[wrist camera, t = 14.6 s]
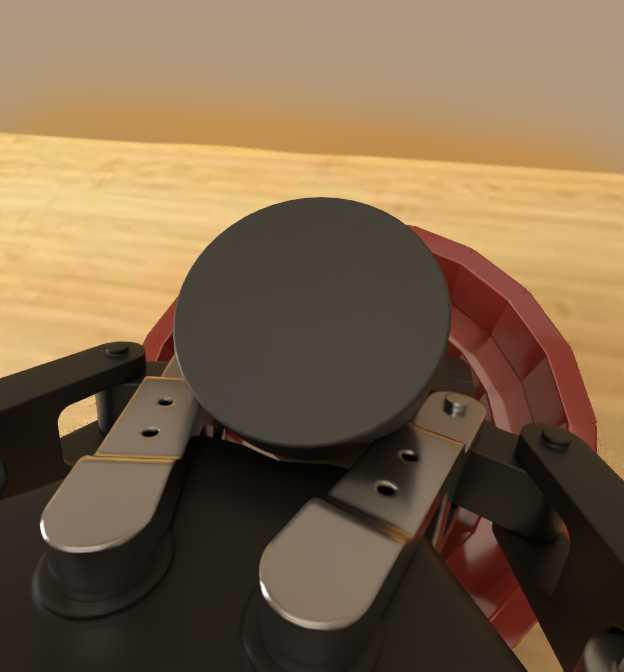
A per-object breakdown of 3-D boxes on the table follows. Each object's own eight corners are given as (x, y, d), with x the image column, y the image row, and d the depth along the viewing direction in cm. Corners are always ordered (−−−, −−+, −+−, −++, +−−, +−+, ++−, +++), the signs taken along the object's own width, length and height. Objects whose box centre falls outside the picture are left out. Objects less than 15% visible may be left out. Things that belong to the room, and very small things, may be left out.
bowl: (538, 323, 20) (598, 245, 15) (517, 708, 15) (597, 805, 10) (242, 278, 24) (202, 200, 18) (135, 584, 18) (32, 603, 13)
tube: (412, 402, 19) (467, 210, 8) (393, 519, 17) (429, 481, 6) (306, 381, 20) (221, 184, 9) (277, 489, 18) (128, 411, 7)
